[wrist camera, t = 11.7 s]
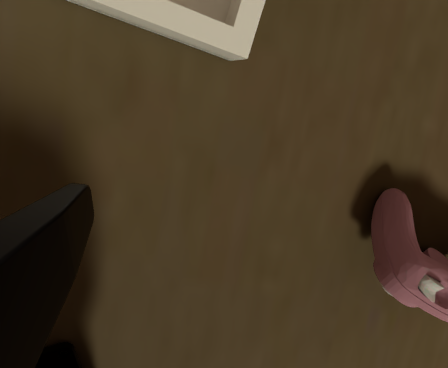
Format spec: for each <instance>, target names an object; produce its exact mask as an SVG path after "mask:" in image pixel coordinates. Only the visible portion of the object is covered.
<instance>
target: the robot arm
mask: <svg viewBox="0 0 448 368" xmlns="http://www.w3.org/2000/svg"><path fill="white" fill-rule="evenodd" d="M93 220H94V209H93V202H92V195H91V189H90V187H89V186H88V185H86V184H75V183H71V184H68V185H66V186H65V187H63V188H61V189H59V190H57V191H55V192H53V193H51V194H49V195H47V196H46V197H44V198H42V199H40V200H38V201H36V202H34V203H32V204H30V205H28V206H26V207H25V208H23V209H21V210H19V211H17V212H15V213H13V214H11V215H9V216H7V217H5V218H4V219H2V220H0V368H81V365H80V362H79V359H78V356H77V354H76V351H75V348H74V346H73V345H72V344H71V343H69V342H62V343H59V344H56V345H53V346H49V347H46V348H44V346H45V344H46V342H47V340H48V337H49V335H50V333H51V331H52V329H53V326H54V324H55V322H56V320H57V318H58V315H59V313H60V311H61V309H62V306H63V304H64V302H65V300H66V298H67V295H68V293H69V291H70V289H71V287H72V284H73V282H74V280H75V277H76V274H77V271H78V269H79V265H80V262H81V259H82V256H83V253H84V249H85V246H86V243H87V240H88V237H89V234H90V230H91V227H92V224H93ZM62 351H66V352H68V353H66V354H61V353H60V352H62Z"/></svg>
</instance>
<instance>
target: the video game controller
mask: <svg viewBox="0 0 448 368" xmlns="http://www.w3.org/2000/svg"><path fill="white" fill-rule="evenodd" d="M371 237H372V245H373V251H374V256H375V260H374V263H373V267H374V271H375V273H376V275H377V277H378V279H379V281H380V282H381V285H382V287H383V289H384V290H385V291H386V292H387V293H388V294H390V295H391V296H393V297H394V298H396V299H397V300H398V301H399V302H401V303H402V304H404V305H406V306H408V307H419V308H421V309H423V310H424V311H426V312H428V313H429V314H431V315H433V316H435V317H437V318H439V319H441V320H443V321H446V322H448V259H447V258H446V257H445V256H444V255H443V254H441V253H440V252H439V251H437V250H436V249H433V248H428V249H427V250H425V251H424V252H422V251H421V250H420V247H419V244H418V241H417V237H416V233H415V228H414V221H413V214H412V208H411V204H410V202H409V200H408V198H407V196H406V194H405V193H404V192H402V191H401V190H399V189H396V188H391V189H387V190H385V191H384V192H383V193H382V194H381V195H380V197H379V198H378V200H377V202H376V204H375V207H374V210H373V215H372V221H371Z"/></svg>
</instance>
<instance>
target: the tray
mask: <svg viewBox="0 0 448 368" xmlns="http://www.w3.org/2000/svg"><path fill="white" fill-rule="evenodd" d="M67 1H69V2H72V3H75V4H77V5H80V6H83V7H86V8H88V9H91V10H94V11H96V12H99V13H102V14H104V15H107V16H110V17H113V18H115V19H118V20H121V21H123V22H126V23H129V24H132V25H134V26H137V27H140V28H142V29H145V30H148V31H151V32H153V33H156V34H159V35H161V36H164V37H167V38H170V39H172V40H175V41H178V42H180V43H183V44H186V45H188V46H191V47H194V48H197V49H199V50H202V51H205V52H207V53H210V54H213V55H216V56H218V57H221V58H224V59H226V60H229V61H233V60H242V59H248V55H249V52H250V49H251V46H252V42H253V39H254V36H255V33H256V29H257V26H258V23H259V20H260V16H261V13H262V10H263V7H264V3H265V0H67Z"/></svg>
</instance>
